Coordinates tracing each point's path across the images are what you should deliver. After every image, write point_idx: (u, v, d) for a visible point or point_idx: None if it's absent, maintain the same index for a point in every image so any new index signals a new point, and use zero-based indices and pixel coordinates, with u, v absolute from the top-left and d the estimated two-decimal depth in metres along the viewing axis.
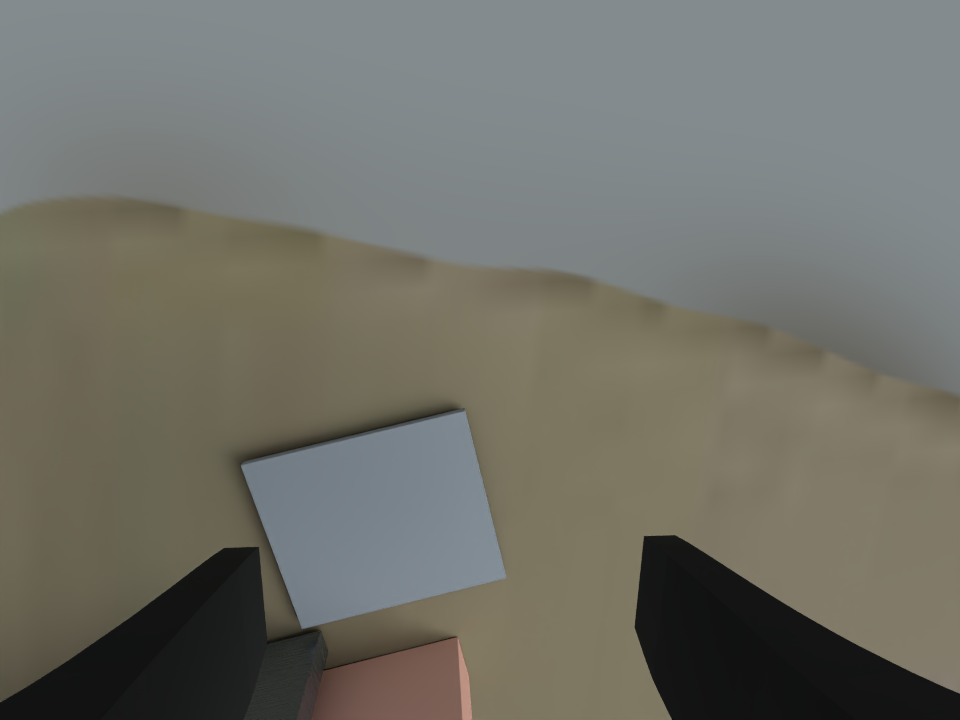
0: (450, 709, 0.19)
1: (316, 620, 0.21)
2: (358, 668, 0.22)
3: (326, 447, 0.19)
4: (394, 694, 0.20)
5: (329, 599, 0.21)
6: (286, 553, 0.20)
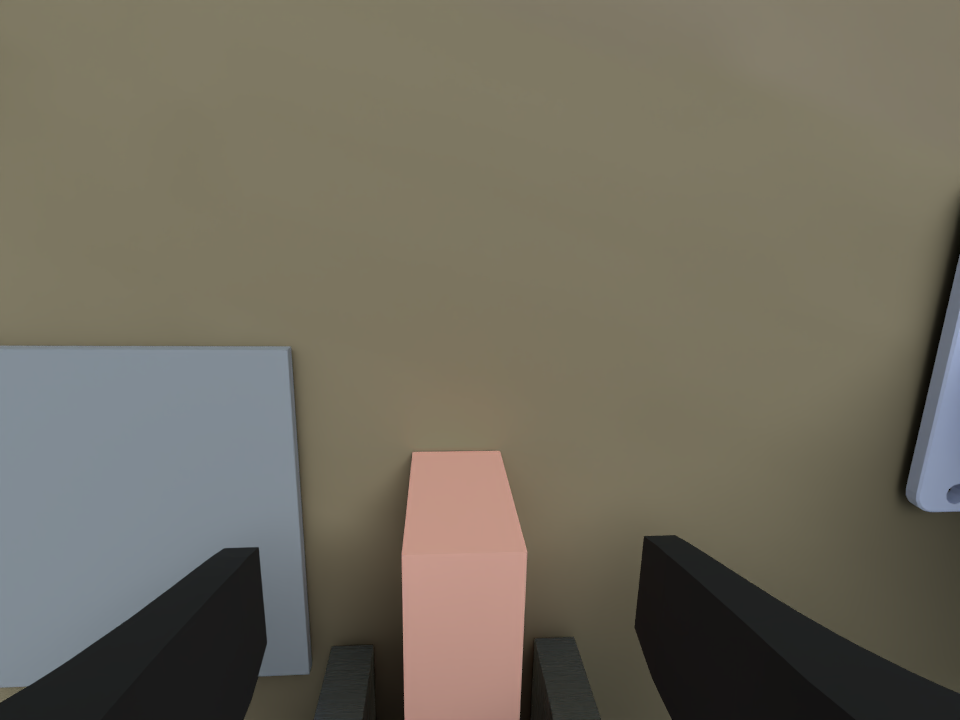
0: None
1: (299, 652, 0.13)
2: None
3: None
4: None
5: None
6: None
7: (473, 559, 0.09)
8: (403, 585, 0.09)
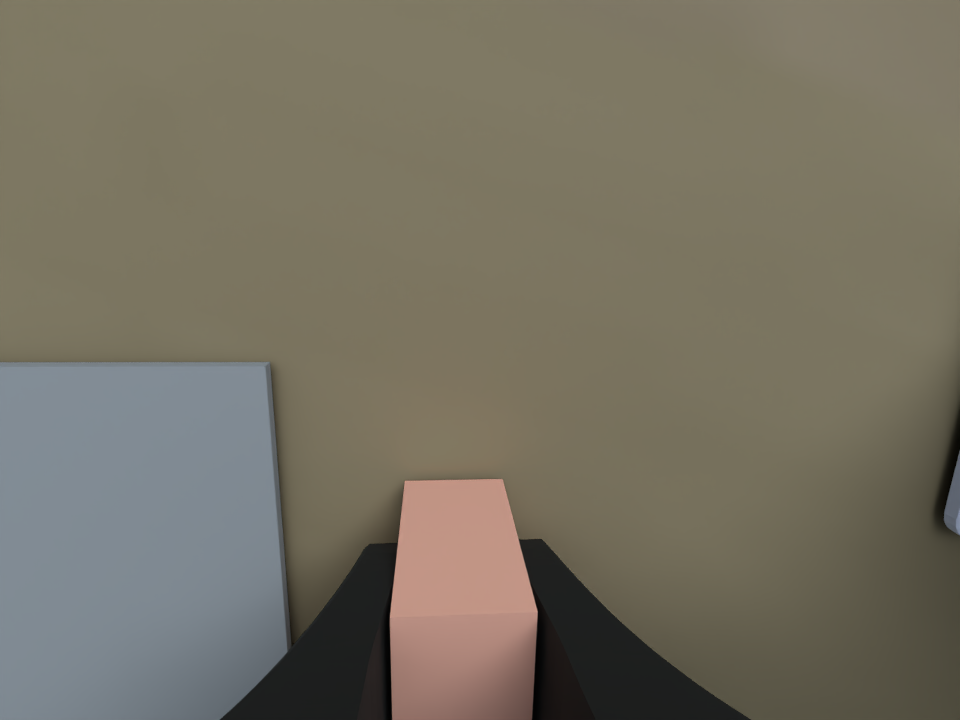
0: None
1: None
2: None
3: None
4: None
5: (243, 670, 0.12)
6: (133, 712, 0.12)
7: (473, 620, 0.08)
8: (392, 651, 0.08)
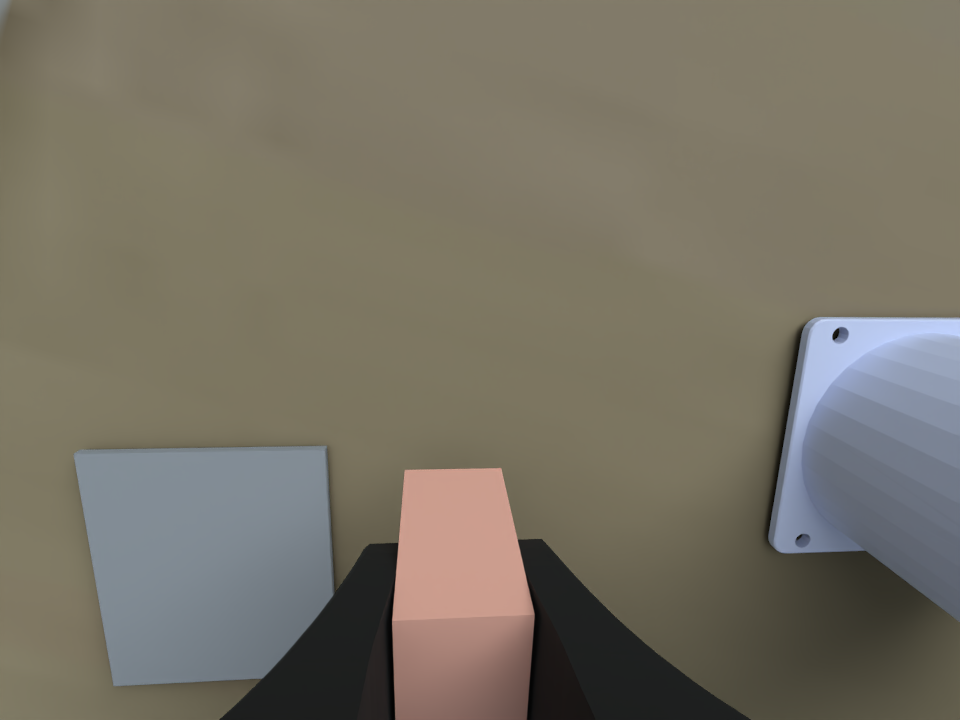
0: None
1: None
2: None
3: (103, 605, 0.17)
4: None
5: None
6: (233, 668, 0.18)
7: (472, 623, 0.08)
8: (394, 650, 0.08)
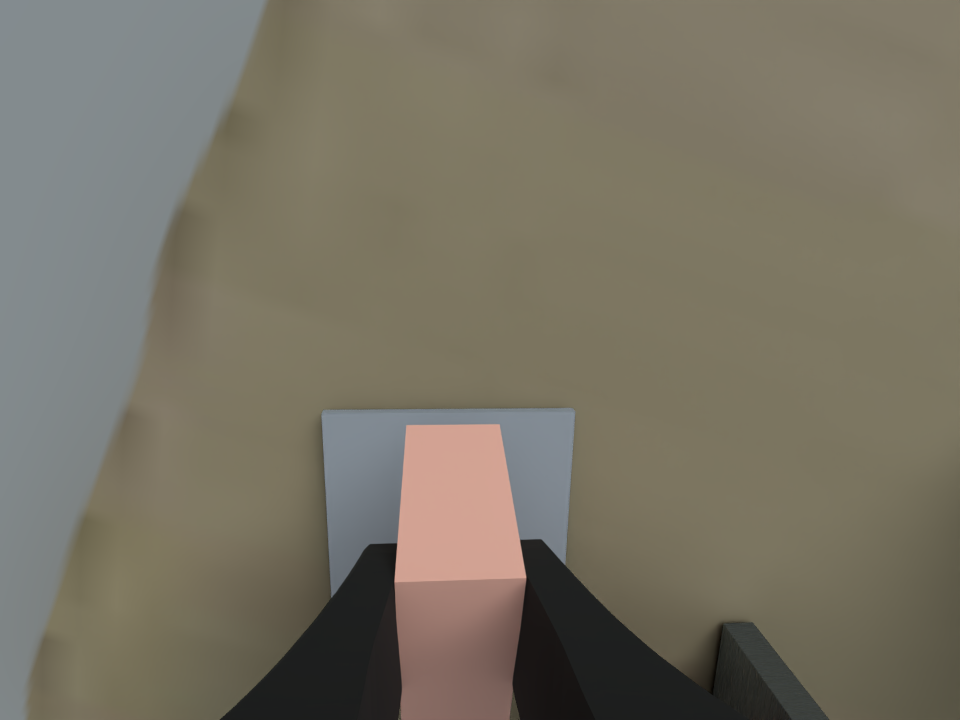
0: None
1: None
2: None
3: (333, 574, 0.16)
4: None
5: None
6: None
7: (468, 584, 0.08)
8: (397, 605, 0.09)
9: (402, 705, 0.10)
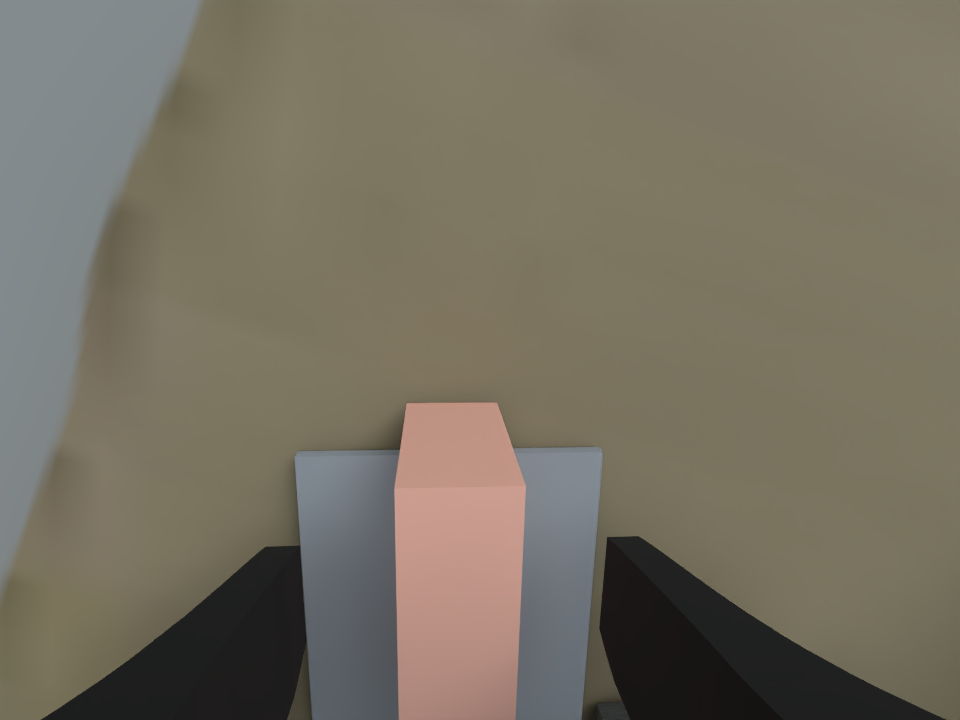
0: None
1: (574, 710, 0.15)
2: None
3: (311, 646, 0.14)
4: None
5: (548, 689, 0.14)
6: None
7: (468, 493, 0.08)
8: (396, 521, 0.08)
9: (399, 668, 0.09)
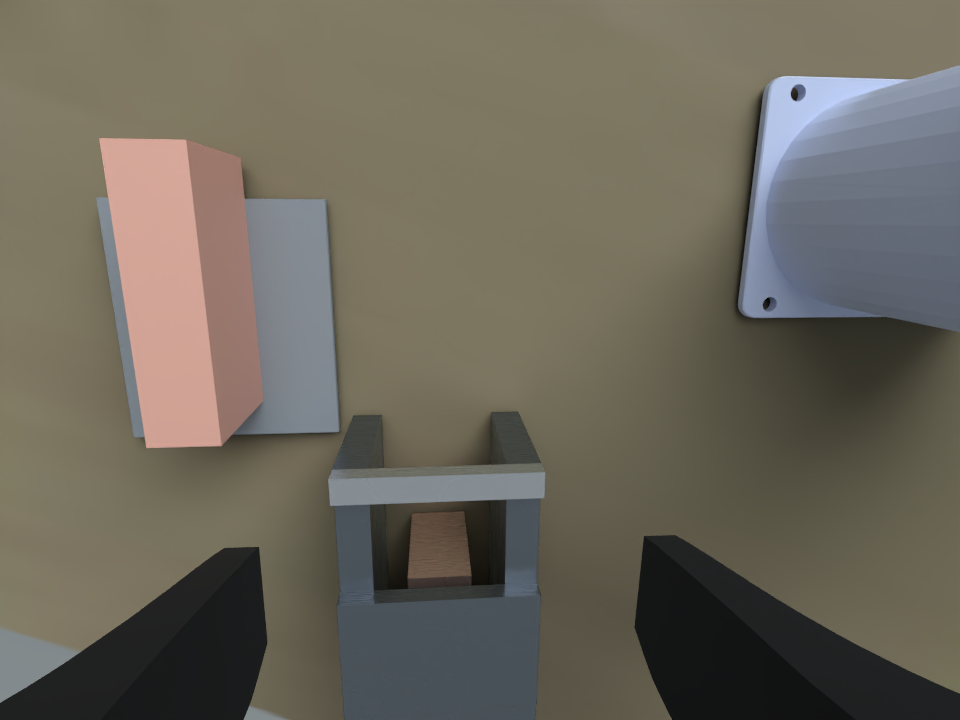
0: None
1: (332, 415, 0.20)
2: None
3: (123, 353, 0.18)
4: None
5: (309, 396, 0.19)
6: (243, 422, 0.19)
7: (149, 144, 0.13)
8: (104, 163, 0.13)
9: (121, 275, 0.14)
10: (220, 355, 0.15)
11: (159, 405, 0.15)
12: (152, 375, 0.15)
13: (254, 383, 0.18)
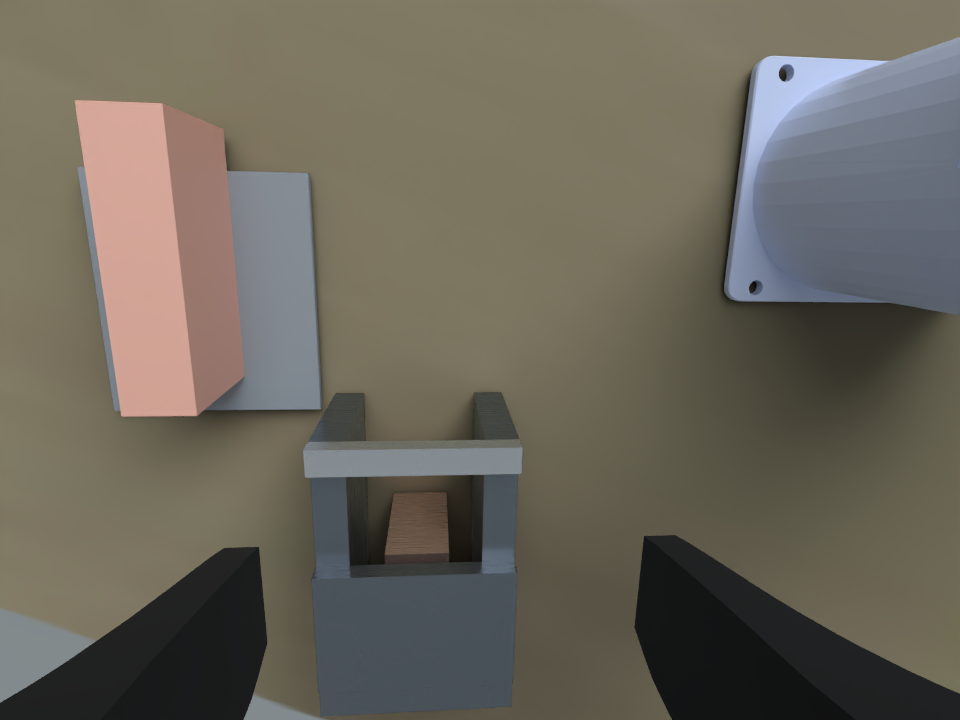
0: None
1: (314, 392, 0.20)
2: None
3: (104, 325, 0.18)
4: None
5: (290, 372, 0.19)
6: (224, 398, 0.19)
7: (124, 106, 0.13)
8: (80, 126, 0.13)
9: (97, 240, 0.14)
10: (196, 324, 0.15)
11: (135, 373, 0.15)
12: (127, 343, 0.15)
13: (235, 357, 0.18)
